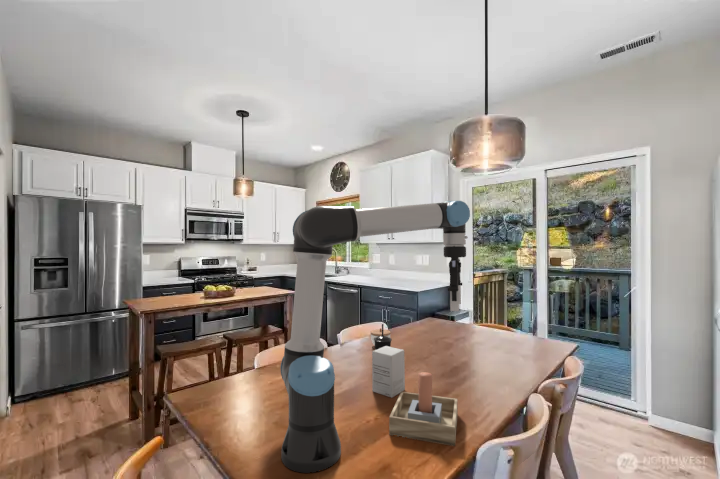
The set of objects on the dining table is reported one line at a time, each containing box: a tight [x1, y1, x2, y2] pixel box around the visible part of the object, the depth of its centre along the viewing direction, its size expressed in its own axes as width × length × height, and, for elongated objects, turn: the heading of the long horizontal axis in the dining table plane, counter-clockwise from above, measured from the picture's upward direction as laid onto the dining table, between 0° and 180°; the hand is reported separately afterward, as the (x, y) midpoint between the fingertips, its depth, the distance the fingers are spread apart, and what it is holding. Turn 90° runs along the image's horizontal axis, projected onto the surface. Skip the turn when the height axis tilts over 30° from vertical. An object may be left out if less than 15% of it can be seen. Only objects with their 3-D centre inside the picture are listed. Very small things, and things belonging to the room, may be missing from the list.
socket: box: [408, 400, 442, 424], centre depth 103 cm, size 9×9×4 cm
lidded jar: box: [370, 327, 392, 346], centre depth 184 cm, size 11×11×9 cm
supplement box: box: [371, 346, 406, 399], centre depth 127 cm, size 9×9×15 cm
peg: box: [417, 371, 433, 413], centre depth 103 cm, size 4×4×14 cm
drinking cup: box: [374, 323, 392, 350], centre depth 148 cm, size 8×8×20 cm
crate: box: [388, 391, 458, 447], centre depth 103 cm, size 18×18×5 cm
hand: (455, 307), depth 119 cm, fingers open, 13 cm apart
